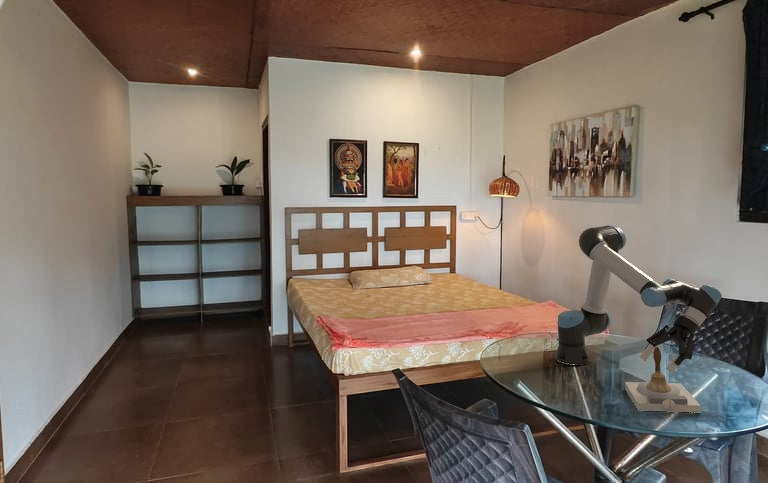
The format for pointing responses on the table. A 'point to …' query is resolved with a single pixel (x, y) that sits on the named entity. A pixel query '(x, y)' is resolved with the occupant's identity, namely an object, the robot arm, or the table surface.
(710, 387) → the table surface
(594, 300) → the robot arm
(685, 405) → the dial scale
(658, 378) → the hand bell
